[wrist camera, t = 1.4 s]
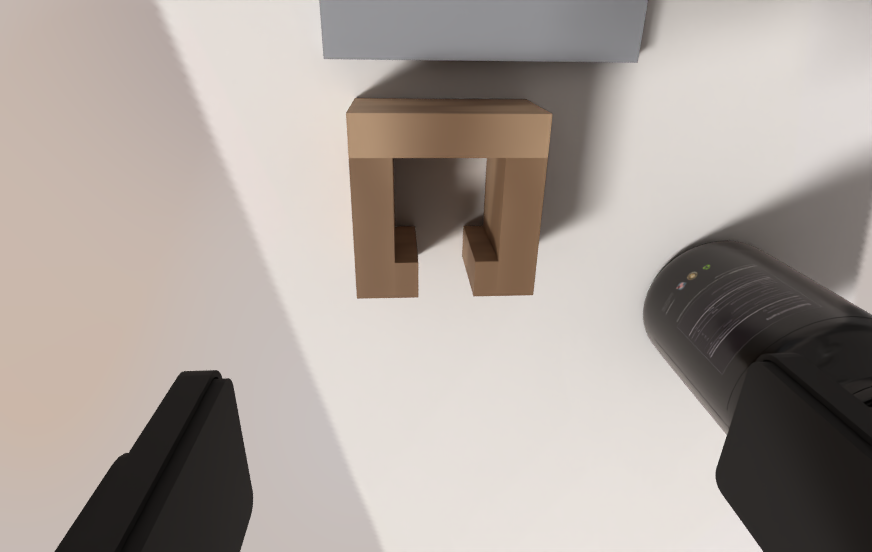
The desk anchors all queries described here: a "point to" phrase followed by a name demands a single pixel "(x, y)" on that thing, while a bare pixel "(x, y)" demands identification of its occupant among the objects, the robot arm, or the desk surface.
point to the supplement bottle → (751, 323)
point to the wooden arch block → (448, 138)
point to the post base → (483, 30)
